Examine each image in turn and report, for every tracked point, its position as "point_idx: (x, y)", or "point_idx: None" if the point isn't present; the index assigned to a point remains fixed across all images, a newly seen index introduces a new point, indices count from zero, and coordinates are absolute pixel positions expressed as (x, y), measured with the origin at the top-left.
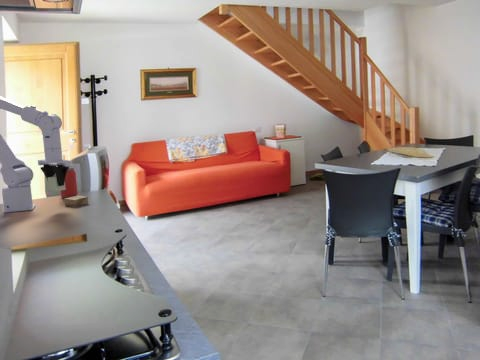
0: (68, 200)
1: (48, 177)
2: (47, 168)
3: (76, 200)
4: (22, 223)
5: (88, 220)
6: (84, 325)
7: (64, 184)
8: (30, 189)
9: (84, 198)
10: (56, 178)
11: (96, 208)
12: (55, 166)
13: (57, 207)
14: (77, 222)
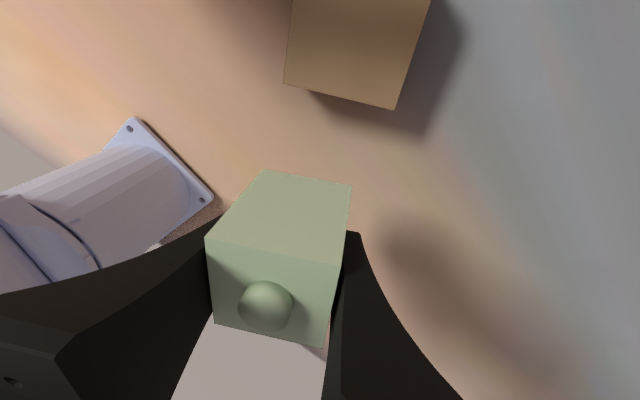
0: (326, 91)
1: (228, 326)
2: None
3: (398, 97)
4: None
5: (590, 316)
6: None
7: (347, 214)
8: (104, 217)
9: (426, 9)
10: (325, 333)
11: (564, 119)
12: (92, 344)
13: (287, 129)
14: (548, 334)
